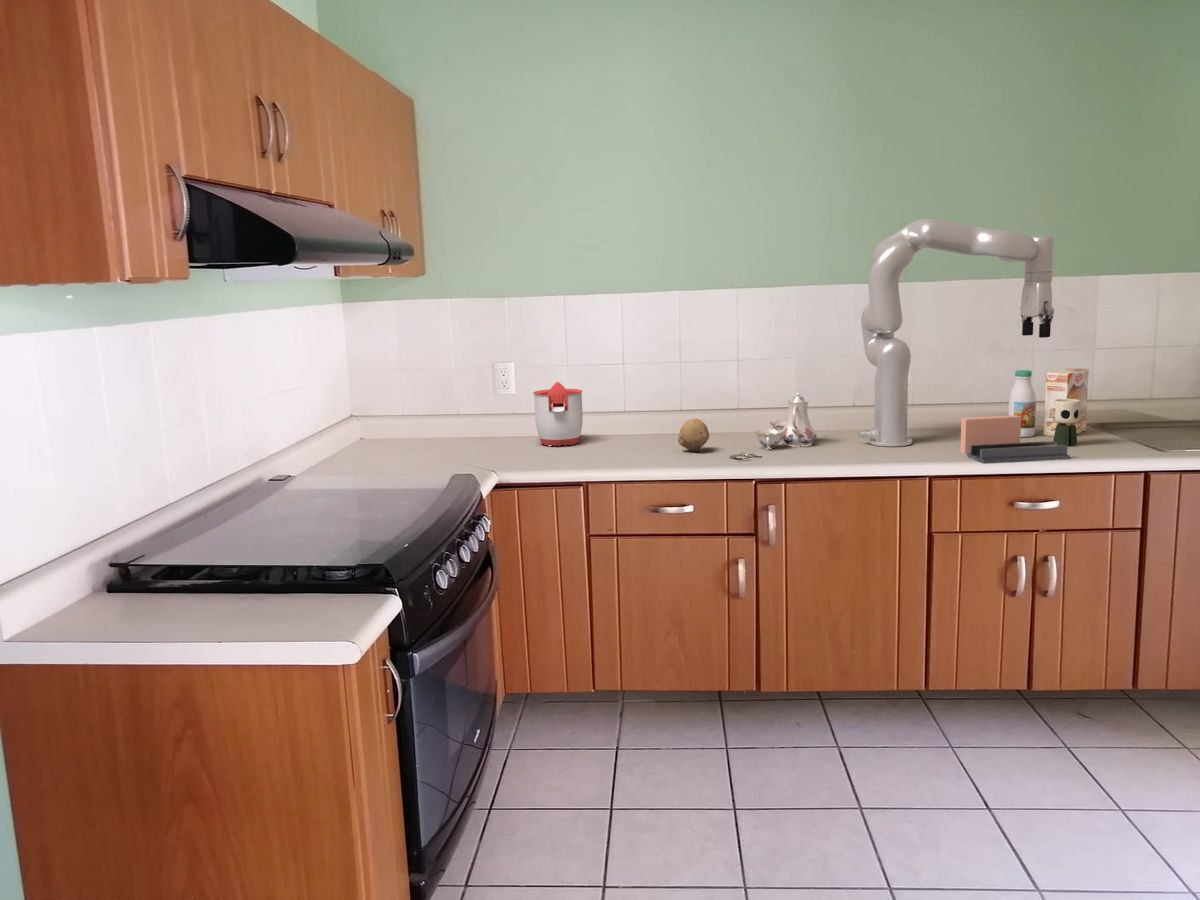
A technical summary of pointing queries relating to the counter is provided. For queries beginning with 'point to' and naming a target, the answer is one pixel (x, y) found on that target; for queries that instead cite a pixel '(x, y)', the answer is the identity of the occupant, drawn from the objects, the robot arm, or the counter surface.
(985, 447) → the door track
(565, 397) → the citrus juicer
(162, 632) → the counter surface
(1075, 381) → the coffeecake box
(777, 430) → the chinaware
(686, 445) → the brown round lump
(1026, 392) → the milk bottle
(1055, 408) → the character mug
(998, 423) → the door panel
